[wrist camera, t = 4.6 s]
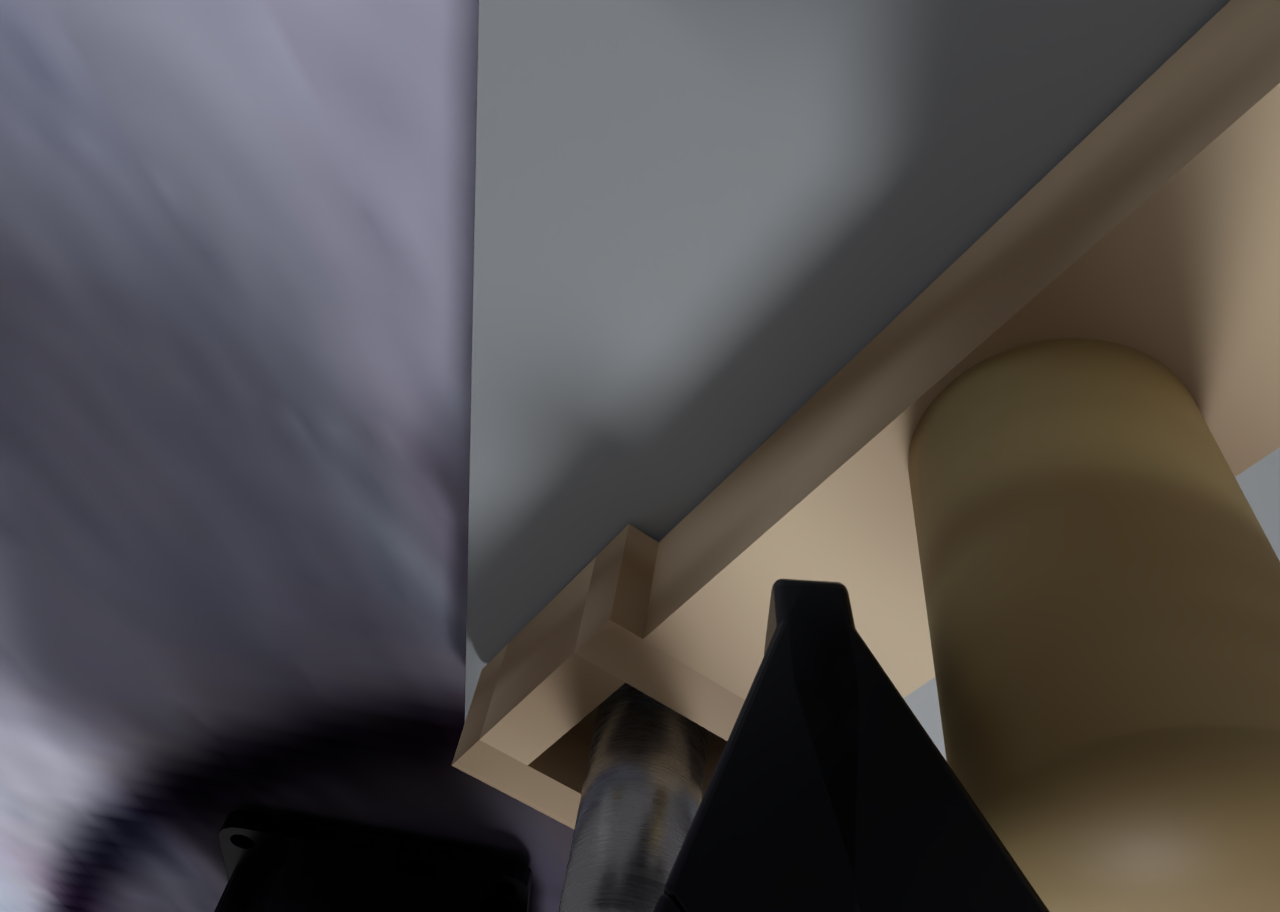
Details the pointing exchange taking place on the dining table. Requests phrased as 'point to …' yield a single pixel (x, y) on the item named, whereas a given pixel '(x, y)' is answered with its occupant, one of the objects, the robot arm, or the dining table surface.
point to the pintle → (633, 804)
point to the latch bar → (1013, 521)
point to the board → (735, 236)
